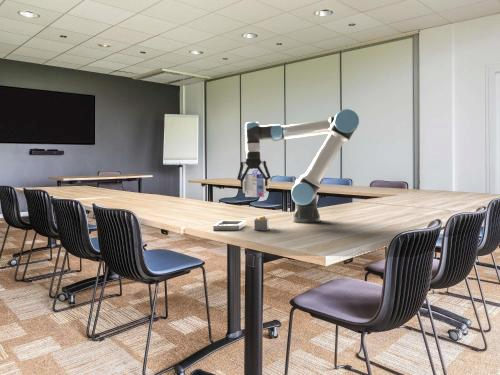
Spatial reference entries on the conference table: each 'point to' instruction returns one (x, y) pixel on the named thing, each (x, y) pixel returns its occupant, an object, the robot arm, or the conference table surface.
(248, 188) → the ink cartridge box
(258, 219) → the plunger
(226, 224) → the tray
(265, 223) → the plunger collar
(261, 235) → the conference table surface
